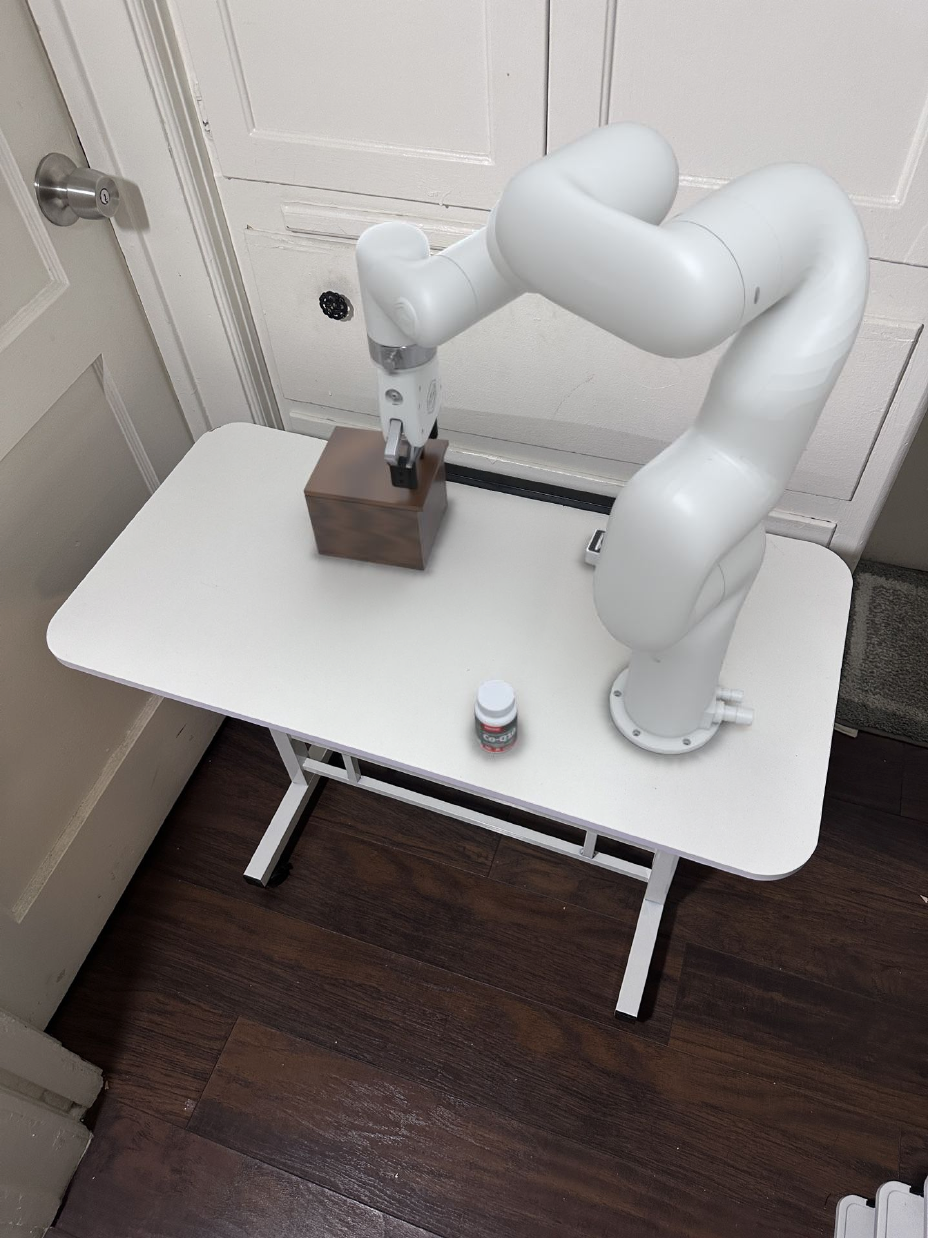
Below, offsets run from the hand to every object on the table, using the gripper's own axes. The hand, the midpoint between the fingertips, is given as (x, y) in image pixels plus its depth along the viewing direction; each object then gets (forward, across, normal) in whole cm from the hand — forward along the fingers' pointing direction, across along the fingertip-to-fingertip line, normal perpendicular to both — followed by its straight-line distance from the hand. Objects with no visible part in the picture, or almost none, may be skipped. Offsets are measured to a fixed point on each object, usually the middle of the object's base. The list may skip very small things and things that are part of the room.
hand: (415, 460), depth 114 cm
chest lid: (+2, 0, +5) cm, 6 cm away
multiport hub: (+13, 0, -29) cm, 32 cm away
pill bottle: (+13, -29, -16) cm, 36 cm away
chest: (+13, 0, +6) cm, 14 cm away
